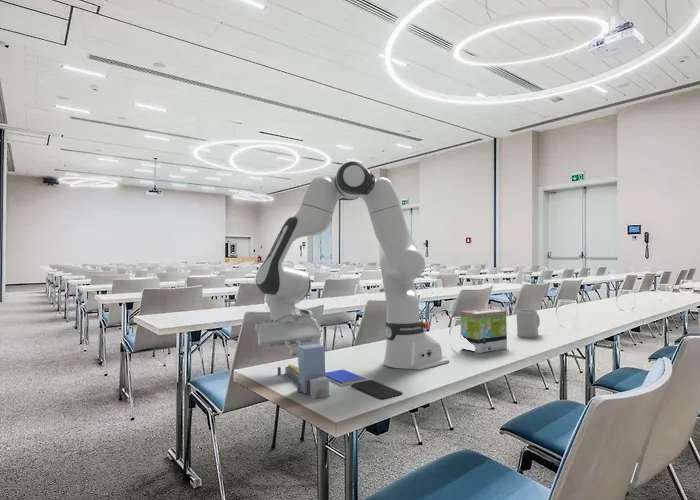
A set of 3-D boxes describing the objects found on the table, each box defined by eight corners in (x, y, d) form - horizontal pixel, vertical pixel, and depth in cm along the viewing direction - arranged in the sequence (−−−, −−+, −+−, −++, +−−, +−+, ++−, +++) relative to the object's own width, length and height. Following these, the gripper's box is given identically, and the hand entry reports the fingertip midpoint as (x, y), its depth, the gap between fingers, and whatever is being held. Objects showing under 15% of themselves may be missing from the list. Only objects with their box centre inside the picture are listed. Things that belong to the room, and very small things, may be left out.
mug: (529, 338, 176) (528, 312, 176) (513, 335, 184) (512, 310, 184) (547, 335, 182) (546, 310, 182) (530, 332, 189) (529, 308, 190)
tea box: (480, 354, 150) (479, 313, 151) (460, 349, 159) (458, 311, 159) (508, 348, 158) (506, 309, 158) (487, 344, 166) (486, 307, 167)
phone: (381, 398, 104) (349, 384, 116) (381, 402, 104) (349, 387, 116) (404, 393, 108) (370, 379, 120) (404, 396, 108) (370, 382, 120)
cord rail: (302, 370, 135) (302, 357, 135) (336, 394, 109) (335, 377, 109) (277, 374, 131) (276, 360, 131) (306, 399, 106) (305, 382, 106)
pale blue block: (319, 385, 117) (318, 343, 118) (325, 390, 113) (324, 346, 113) (299, 388, 115) (297, 345, 115) (304, 393, 110) (303, 349, 111)
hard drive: (365, 377, 121) (344, 368, 132) (341, 382, 117) (321, 373, 127) (365, 382, 121) (344, 373, 132) (341, 387, 117) (321, 378, 127)
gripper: (255, 315, 130) (263, 352, 120) (316, 310, 138) (328, 344, 129) (252, 327, 133) (259, 364, 124) (311, 322, 142) (323, 356, 133)
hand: (295, 354), depth 127 cm, fingers closed
